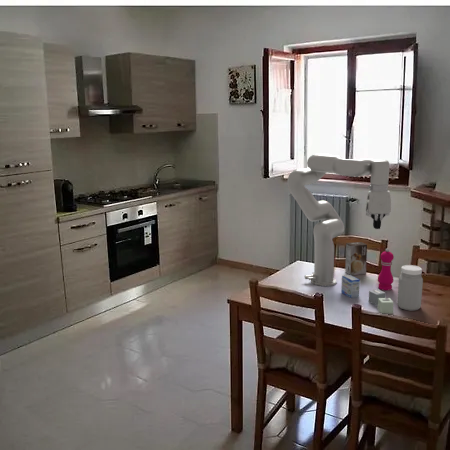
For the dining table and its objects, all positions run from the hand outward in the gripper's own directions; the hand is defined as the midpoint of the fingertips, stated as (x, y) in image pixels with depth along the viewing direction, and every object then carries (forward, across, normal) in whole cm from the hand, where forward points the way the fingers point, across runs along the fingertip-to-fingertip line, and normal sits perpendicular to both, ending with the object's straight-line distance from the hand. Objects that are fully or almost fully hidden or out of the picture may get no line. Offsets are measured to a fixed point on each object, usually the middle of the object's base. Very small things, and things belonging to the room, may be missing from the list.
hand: (376, 228), depth 224 cm
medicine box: (+32, -10, +3) cm, 34 cm away
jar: (+32, +9, -16) cm, 37 cm away
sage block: (+32, -3, -18) cm, 37 cm away
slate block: (+32, -2, -8) cm, 33 cm away
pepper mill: (+32, +10, +8) cm, 35 cm away
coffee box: (+32, +6, +33) cm, 47 cm away
